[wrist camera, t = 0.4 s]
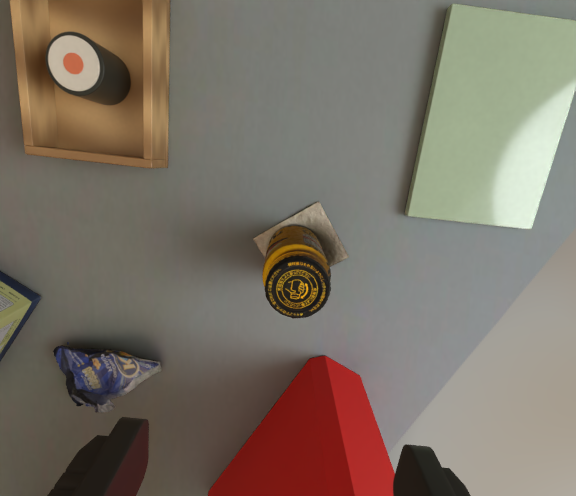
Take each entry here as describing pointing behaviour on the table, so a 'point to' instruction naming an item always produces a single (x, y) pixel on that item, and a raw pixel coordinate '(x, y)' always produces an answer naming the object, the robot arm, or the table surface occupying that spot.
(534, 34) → the sushi plate
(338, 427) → the book
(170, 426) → the table surface
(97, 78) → the sushi roll
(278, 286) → the condiment
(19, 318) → the protein box
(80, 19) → the bento box
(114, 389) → the snack package
